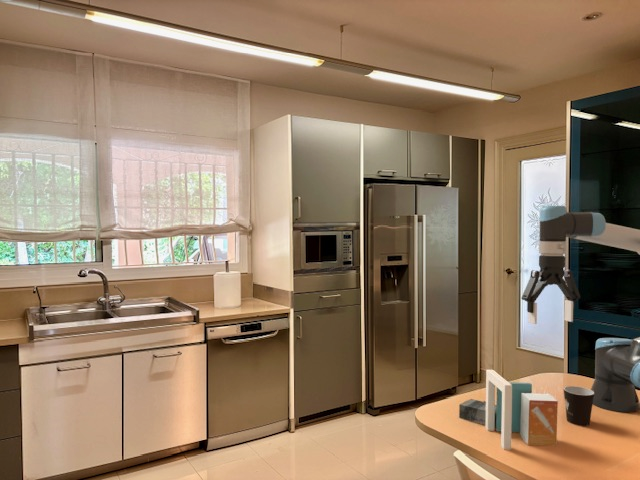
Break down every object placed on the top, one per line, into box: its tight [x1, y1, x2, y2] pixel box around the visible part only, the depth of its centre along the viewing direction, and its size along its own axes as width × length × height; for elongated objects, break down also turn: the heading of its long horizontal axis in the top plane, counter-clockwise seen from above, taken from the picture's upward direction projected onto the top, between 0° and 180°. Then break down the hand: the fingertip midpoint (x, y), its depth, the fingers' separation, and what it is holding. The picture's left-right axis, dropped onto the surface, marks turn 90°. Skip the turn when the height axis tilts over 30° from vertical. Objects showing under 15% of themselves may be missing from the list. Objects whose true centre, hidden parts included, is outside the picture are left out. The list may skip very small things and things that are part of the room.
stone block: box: [458, 398, 497, 429], centre depth 154 cm, size 9×14×5 cm, turn 46°
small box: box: [519, 392, 559, 447], centre depth 139 cm, size 8×6×13 cm
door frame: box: [484, 369, 512, 451], centre depth 141 cm, size 2×14×18 cm, turn 0°
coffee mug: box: [563, 385, 594, 427], centre depth 154 cm, size 12×9×10 cm
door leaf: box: [495, 381, 533, 433], centre depth 144 cm, size 2×10×14 cm, turn 85°
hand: (550, 322), depth 153 cm, fingers open, 13 cm apart
